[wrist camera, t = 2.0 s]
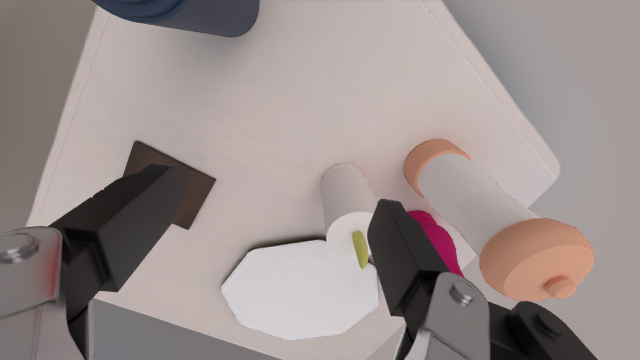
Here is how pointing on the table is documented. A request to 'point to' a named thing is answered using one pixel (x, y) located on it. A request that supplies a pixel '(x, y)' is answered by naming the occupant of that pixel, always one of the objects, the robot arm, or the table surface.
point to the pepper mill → (439, 240)
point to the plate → (300, 290)
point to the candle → (347, 211)
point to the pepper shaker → (499, 226)
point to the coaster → (191, 180)
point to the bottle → (189, 14)
